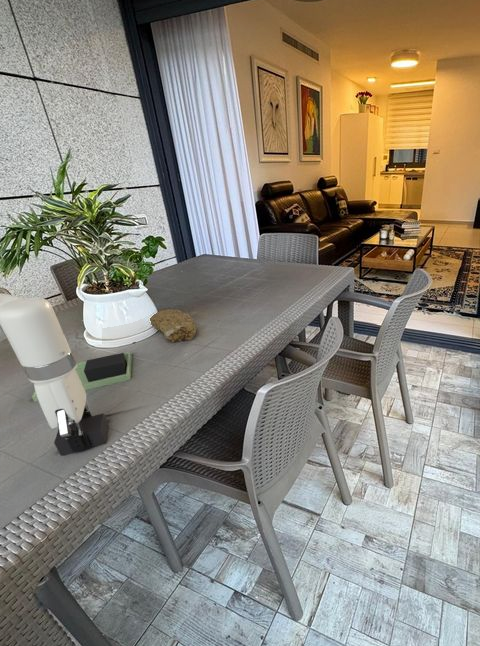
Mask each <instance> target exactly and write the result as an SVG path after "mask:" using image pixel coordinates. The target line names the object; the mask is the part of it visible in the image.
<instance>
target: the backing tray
mask: <svg viewBox="0 0 480 646" xmlns="http://www.w3.org/2000/svg"><path fill="white" fill-rule="evenodd" d="M131 352H132V351H131ZM131 352H125V353H124V355H125V358H126V361H127V371H126V374H123V375H118V376H114V377H109V378H105V379H100V380H96V381H92V382H88V380H87V378H86V375H85V373H84V368H85V365H86V362H87V360H86V361H82V362H76V363H77V368H76V369H75V370H76V372H77V374H78V376H79V378H80V380H81V382H82V385H83V387H84V390H85V391H89V390H91V389H97V388H100V387H104V386H109V385H113V384H118V383H122V382H127V381H130V380H131V377H132V376H131V375H132V365H133V363H132V362H133V356H132V353H131ZM31 398H32V400H33V401H34V403H35V402H36V403H37V402H39V400H38V398H37V395H36V391H35V390H34V391H33V393H32V395H31Z"/></svg>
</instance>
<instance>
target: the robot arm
mask: <svg viewBox="0 0 480 646" xmlns="http://www.w3.org/2000/svg"><path fill="white" fill-rule="evenodd" d="M5 340H8V343H9V344H10V346H11V348H12V350H13V352H14V354H15V356H16V358H17V359H18V362H19V363H20V365H21V368H22V369H23V371H24V374H25V375H26V376H27V379H28V381H29V382H30V383H33V387H34V391H36V395H37V398H38V400H39V401H38V403H39V406H40V408H41V410H42V413H43V415H44V417H45V419H46V421H47V424H48V426H49V427H50V428H51V429H52V430H56V429H59V430H60V436H61V437H65V439H67V441H68V443H69V445H70V447H71V449H72V451H73V453H78V452H82V451H86V450H89V449H91V448H92V447H91V443H90V441H89V439H88V436H87V434H86V432H85V431H84V432H83V430H82V427H81V424H80V420H81V419H83V418H87V417H91V416H93V415H92V414H91V411H90V409H89V406H88V404H87V392H86V390H84V387H83V385H82V382H81V380H80V378H79V376H78V374H77V372H76V370H75V369H76V368H77V363H78V362H77V361H76V359H75V357H74V355H73V352H72V350H71V348H70V347H71V346H70V345H69V343H68V340H67V337H66V335H65V333H64V330H63V328H62V327H61V324H60V322H59V319H58V317H57V315H56V312H55V309H54V307H53V305H52V304H51V302H49V301H48V300H47V299H46V298H43V297H38V296H37V297H35V296H33V297H32V296H31V297H30V296H29V297H20V296H16V295H13V294H9V293H0V342H2V341H5ZM69 419H71V420H69ZM73 424H75V425H76V429H77V430H76V429H70V427H69V425H73Z"/></svg>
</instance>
